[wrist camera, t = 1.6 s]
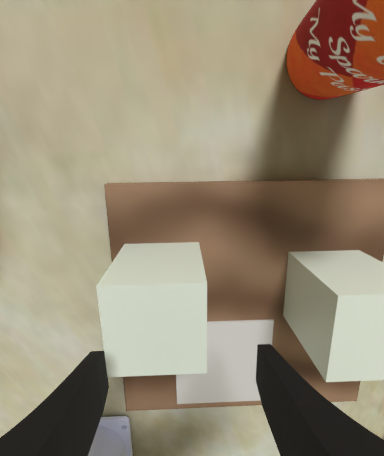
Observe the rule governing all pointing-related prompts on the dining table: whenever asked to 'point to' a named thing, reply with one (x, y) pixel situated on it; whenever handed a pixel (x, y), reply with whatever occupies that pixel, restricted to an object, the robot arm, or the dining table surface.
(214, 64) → the dining table surface
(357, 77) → the paper cup
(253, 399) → the pad
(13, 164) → the dining table surface
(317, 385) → the board
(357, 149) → the dining table surface
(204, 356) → the cover
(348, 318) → the cover
